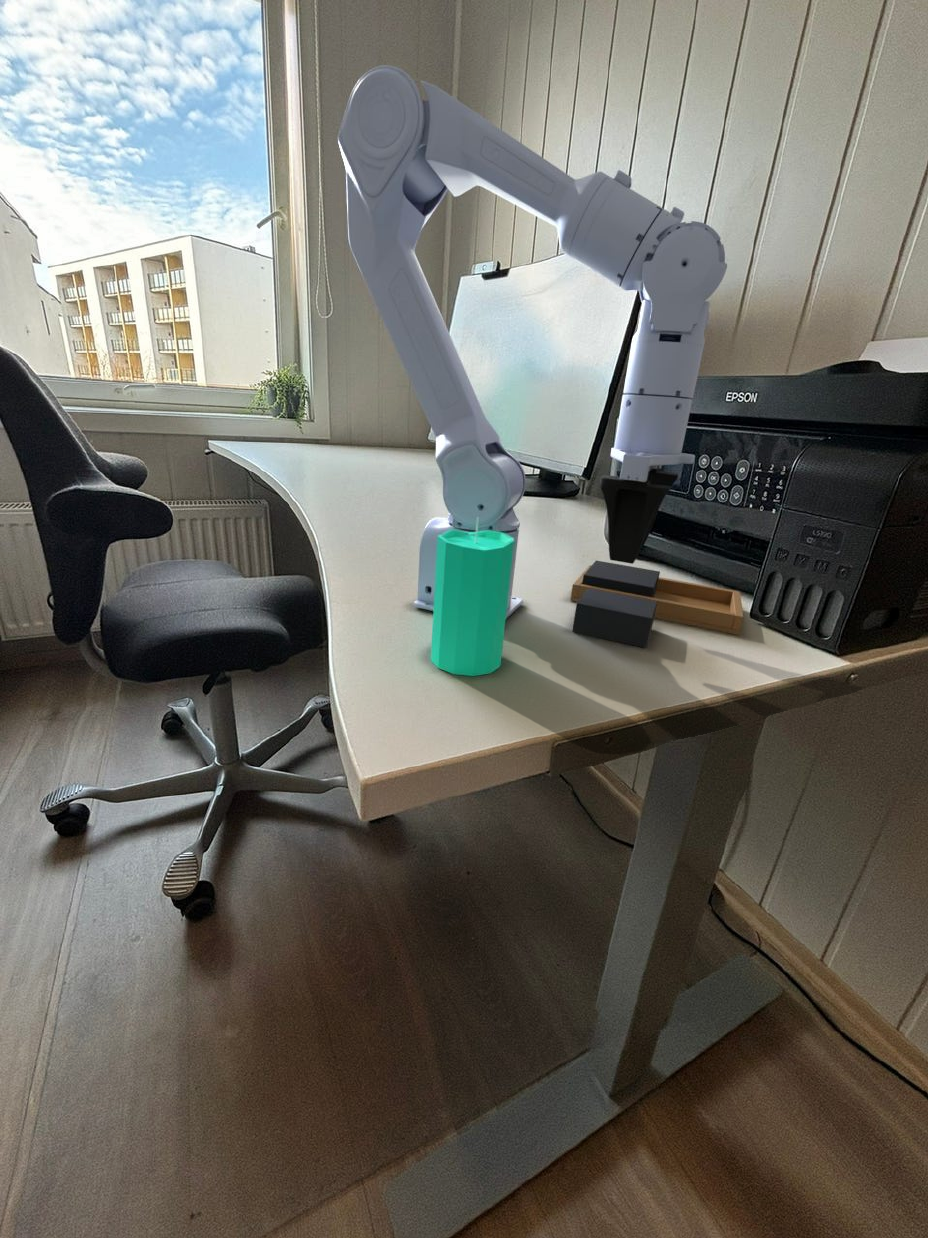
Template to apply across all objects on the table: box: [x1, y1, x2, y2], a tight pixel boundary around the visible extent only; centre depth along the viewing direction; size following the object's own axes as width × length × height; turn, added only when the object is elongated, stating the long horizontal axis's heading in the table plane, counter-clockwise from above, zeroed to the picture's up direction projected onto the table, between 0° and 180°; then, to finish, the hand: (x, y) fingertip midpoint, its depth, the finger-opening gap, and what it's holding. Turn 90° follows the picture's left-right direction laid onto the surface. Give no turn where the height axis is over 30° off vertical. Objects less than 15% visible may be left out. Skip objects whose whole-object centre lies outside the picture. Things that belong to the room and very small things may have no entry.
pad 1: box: [582, 559, 661, 598], centre depth 64 cm, size 8×7×2 cm
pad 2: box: [572, 588, 657, 649], centre depth 54 cm, size 7×6×3 cm
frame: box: [569, 564, 745, 636], centre depth 63 cm, size 18×10×2 cm, turn 66°
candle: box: [430, 517, 514, 677], centre depth 44 cm, size 6×6×12 cm
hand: (627, 552), depth 52 cm, fingers open, 7 cm apart
